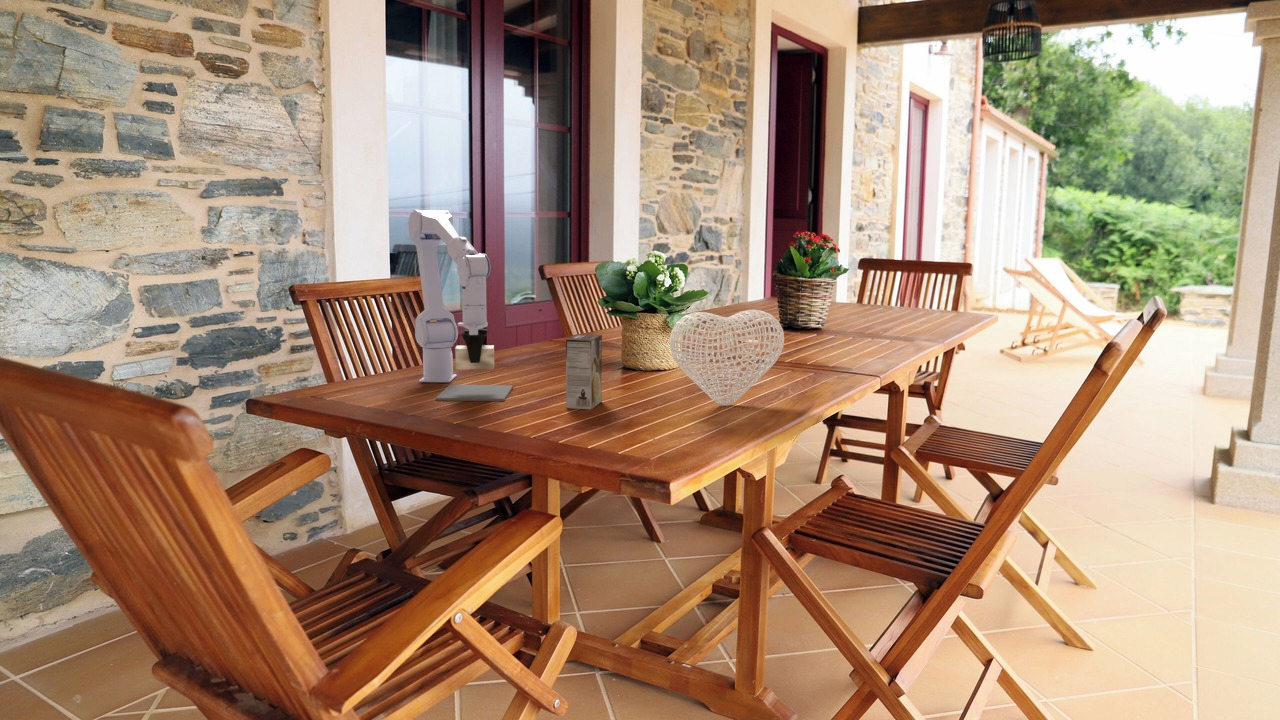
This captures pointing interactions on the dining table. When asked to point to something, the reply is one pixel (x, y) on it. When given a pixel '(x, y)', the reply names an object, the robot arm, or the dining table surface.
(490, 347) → the pale wooden block
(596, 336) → the coffee box
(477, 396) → the rubber mat
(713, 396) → the heart
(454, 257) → the robot arm
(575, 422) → the dining table surface
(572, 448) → the dining table surface
